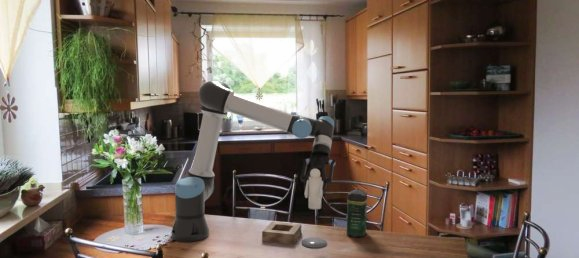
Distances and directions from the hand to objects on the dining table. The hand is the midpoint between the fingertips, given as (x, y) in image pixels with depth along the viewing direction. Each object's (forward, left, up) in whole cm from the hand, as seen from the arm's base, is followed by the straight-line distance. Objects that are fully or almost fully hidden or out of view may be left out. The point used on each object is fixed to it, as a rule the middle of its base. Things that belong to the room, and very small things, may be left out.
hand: (313, 196), depth 158 cm
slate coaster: (0, +4, -20) cm, 20 cm away
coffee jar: (+15, +20, -20) cm, 32 cm away
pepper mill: (0, +4, -5) cm, 6 cm away
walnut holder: (-14, +7, -20) cm, 25 cm away
